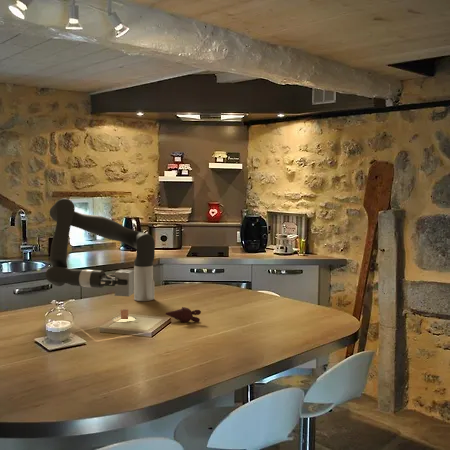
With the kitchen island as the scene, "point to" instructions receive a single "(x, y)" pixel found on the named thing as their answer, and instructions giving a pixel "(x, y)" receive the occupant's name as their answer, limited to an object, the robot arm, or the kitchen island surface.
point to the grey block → (125, 289)
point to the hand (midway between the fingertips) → (129, 280)
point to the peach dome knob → (124, 314)
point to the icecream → (184, 315)
